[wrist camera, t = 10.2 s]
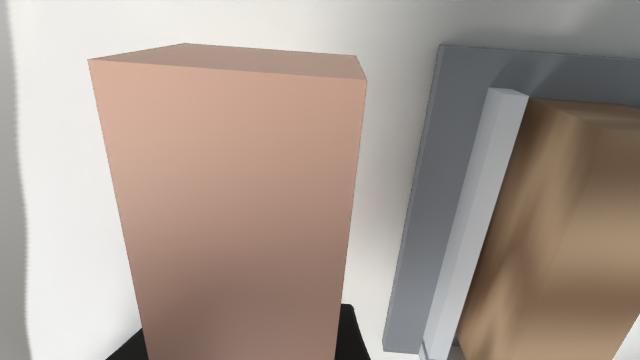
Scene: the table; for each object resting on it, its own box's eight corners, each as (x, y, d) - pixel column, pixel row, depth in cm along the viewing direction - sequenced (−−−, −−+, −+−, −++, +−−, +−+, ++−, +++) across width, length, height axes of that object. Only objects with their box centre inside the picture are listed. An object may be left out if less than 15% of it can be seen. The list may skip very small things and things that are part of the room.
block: (316, 428, 16) (309, 571, 12) (228, 420, 16) (190, 560, 12) (354, 52, 9) (367, 79, 5) (199, 40, 9) (87, 59, 5)
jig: (568, 356, 23) (591, 391, 21) (382, 340, 23) (386, 373, 21) (721, 65, 15) (782, 72, 13) (439, 45, 15) (455, 49, 13)
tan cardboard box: (522, 336, 21) (572, 424, 16) (455, 331, 21) (487, 417, 17) (621, 104, 15) (743, 140, 11) (528, 97, 15) (609, 131, 11)
